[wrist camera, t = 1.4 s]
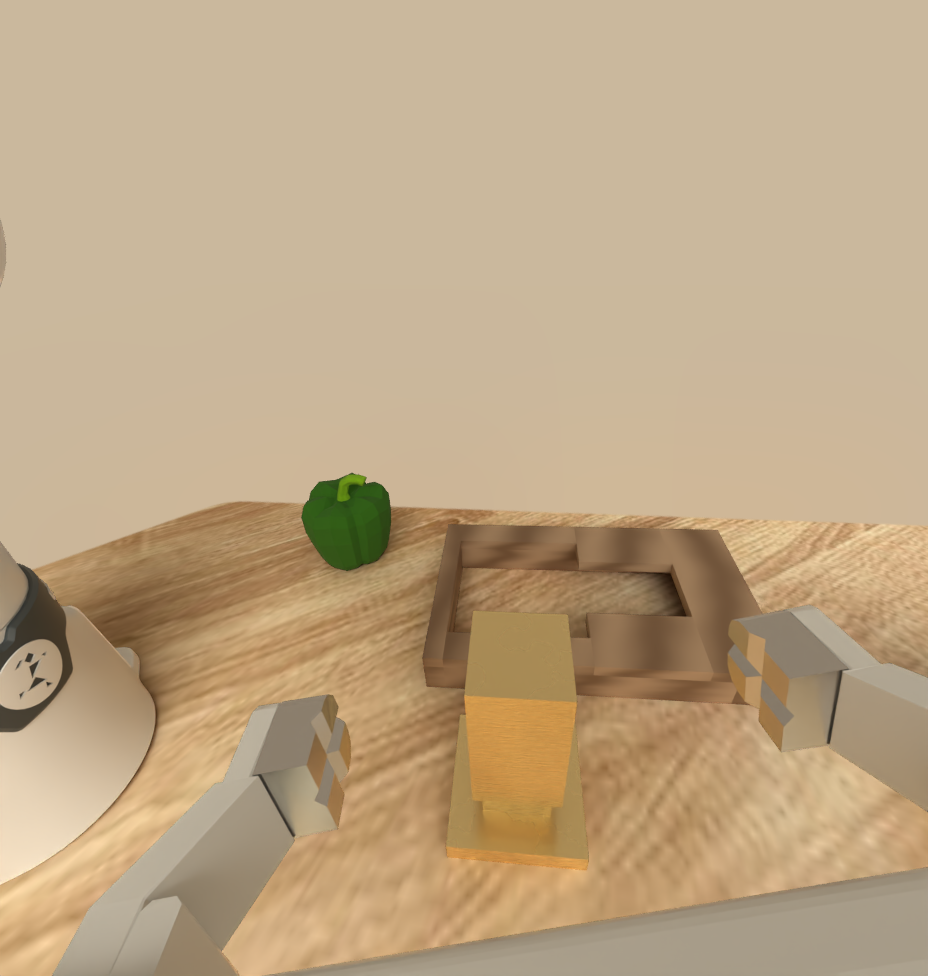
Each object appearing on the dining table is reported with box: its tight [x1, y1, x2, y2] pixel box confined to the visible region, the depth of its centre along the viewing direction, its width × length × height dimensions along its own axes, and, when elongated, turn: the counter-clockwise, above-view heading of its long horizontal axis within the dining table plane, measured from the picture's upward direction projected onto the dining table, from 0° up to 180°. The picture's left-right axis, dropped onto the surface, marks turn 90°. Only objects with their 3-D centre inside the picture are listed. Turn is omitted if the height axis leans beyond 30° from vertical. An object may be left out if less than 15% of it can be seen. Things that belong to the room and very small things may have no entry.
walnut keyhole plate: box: [423, 524, 762, 705], centre depth 42 cm, size 26×16×4 cm, turn 85°
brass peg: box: [446, 611, 589, 870], centre depth 27 cm, size 8×8×14 cm
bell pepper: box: [301, 473, 391, 571], centre depth 48 cm, size 8×8×10 cm
